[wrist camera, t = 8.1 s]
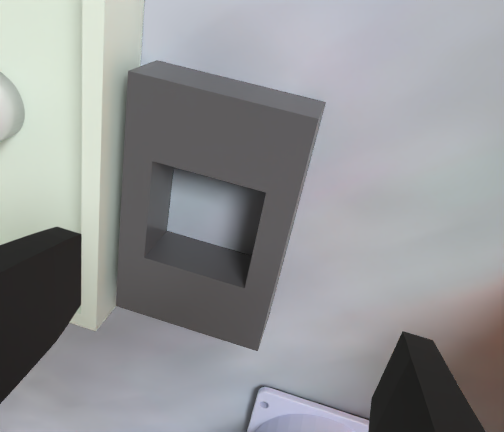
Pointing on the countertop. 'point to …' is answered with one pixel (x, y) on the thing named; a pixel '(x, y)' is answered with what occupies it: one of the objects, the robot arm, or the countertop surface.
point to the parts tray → (70, 130)
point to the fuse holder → (215, 166)
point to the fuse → (10, 109)
